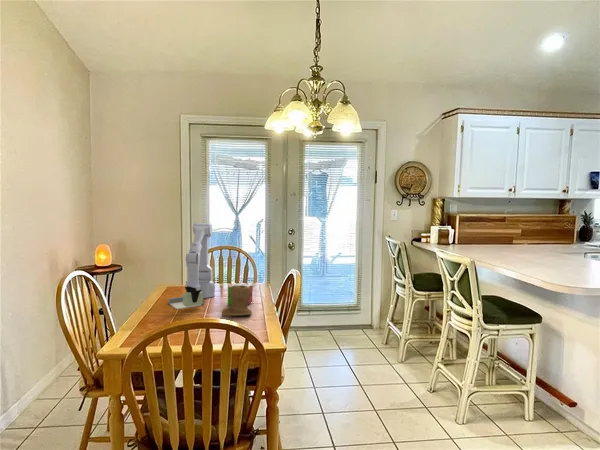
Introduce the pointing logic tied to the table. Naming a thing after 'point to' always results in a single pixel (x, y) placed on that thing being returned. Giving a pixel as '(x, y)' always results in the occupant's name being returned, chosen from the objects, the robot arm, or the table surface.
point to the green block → (188, 299)
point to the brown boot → (238, 301)
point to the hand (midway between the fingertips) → (192, 301)
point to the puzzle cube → (240, 285)
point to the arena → (180, 303)
